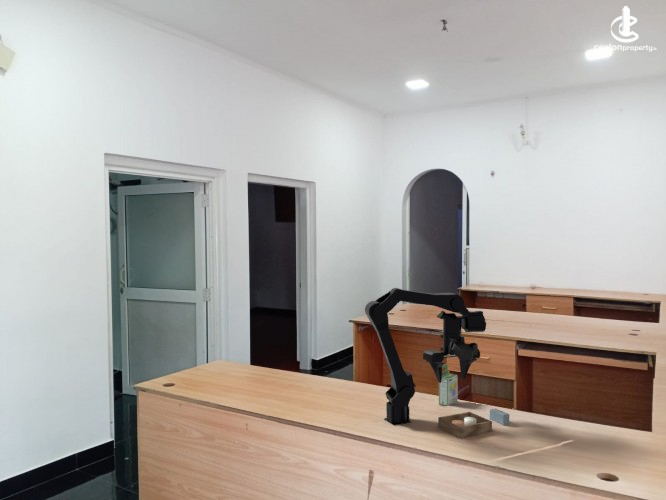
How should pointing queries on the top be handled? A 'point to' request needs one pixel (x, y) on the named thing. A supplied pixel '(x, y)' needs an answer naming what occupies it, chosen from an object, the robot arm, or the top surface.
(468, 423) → the puck cream
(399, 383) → the robot arm
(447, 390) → the ink box
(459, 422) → the puck terracotta
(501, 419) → the lid
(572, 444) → the top surface
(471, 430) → the box
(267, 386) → the top surface
